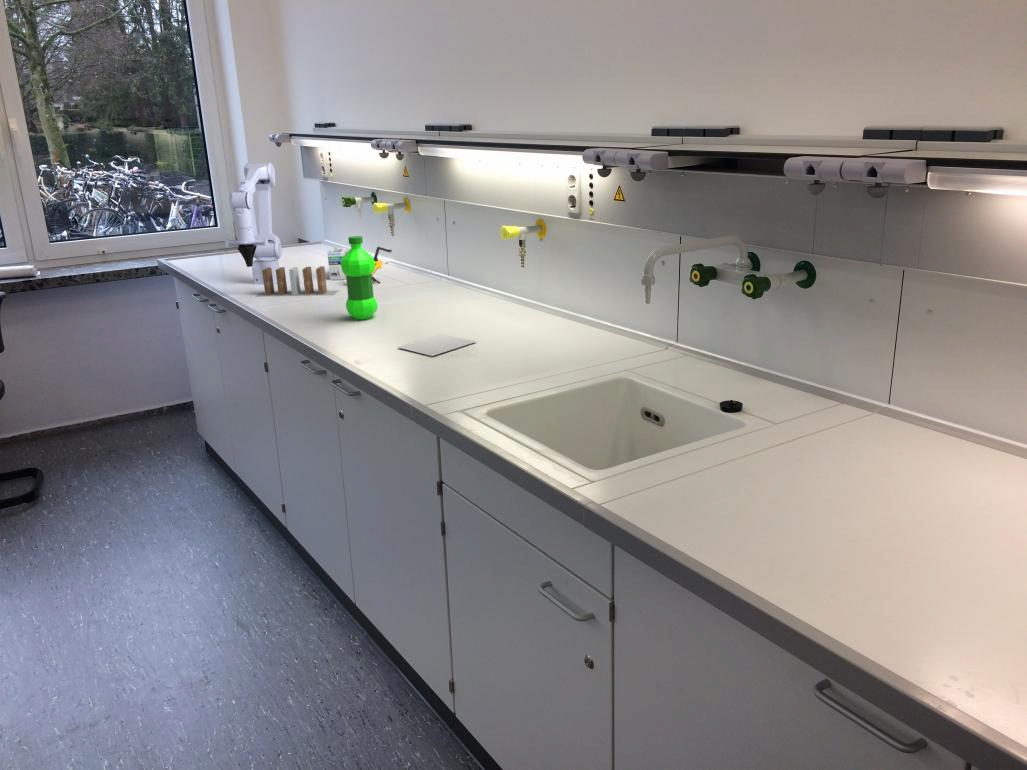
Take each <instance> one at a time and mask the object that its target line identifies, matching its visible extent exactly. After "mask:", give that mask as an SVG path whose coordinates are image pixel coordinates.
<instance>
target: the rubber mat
mask: <svg viewBox="0 0 1027 770" xmlns="http://www.w3.org/2000/svg"><path fill="white" fill-rule="evenodd" d="M339 292H340V290H327V292H326V293H324V294H322V295H319V292H318V290H314V292H313V293H311V294H310V295H305V290H301V292H300V293H299V294H297V295H292V290H291V291H290V290H289V291H288V290H287V293H286V294H284V295H279V294H278V291H274V293H273V294H271V295H266V296H265V291H261V292H260V293H258V294H257V295H255V297H257V298H259V297H304V296H306V297H314V296H316V297H317V296H318V297H319V296H334V295H335V294H337V293H339Z"/></svg>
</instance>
